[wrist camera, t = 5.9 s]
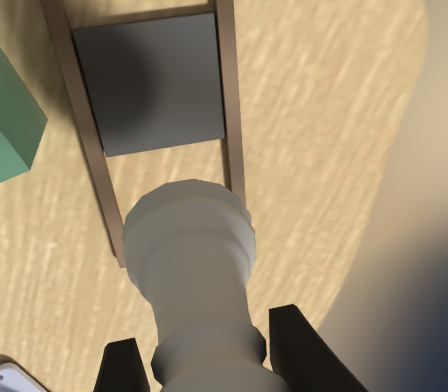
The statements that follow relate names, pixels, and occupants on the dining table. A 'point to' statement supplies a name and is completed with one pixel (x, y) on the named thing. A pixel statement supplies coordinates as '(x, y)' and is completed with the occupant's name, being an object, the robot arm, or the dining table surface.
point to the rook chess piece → (198, 287)
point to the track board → (150, 90)
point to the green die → (17, 123)
